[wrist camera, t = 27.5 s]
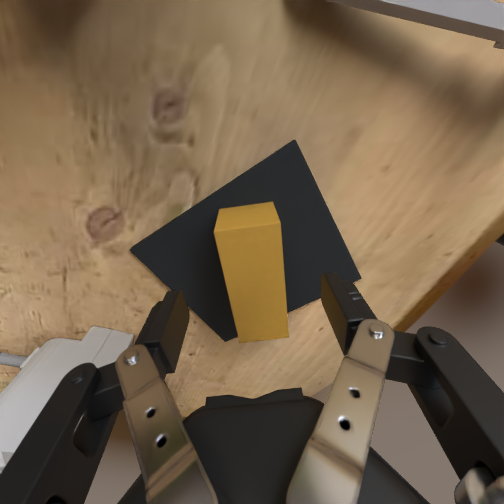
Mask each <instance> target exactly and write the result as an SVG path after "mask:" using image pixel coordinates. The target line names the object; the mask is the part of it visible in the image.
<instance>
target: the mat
mask: <svg viewBox="0 0 504 504" xmlns="http://www.w3.org/2000/svg"><path fill="white" fill-rule="evenodd" d="M267 202H273V204H274V206H275V209H276V212H277V214H278V217H279V220H280V222H281V235H282V248H283V262H284V276H285V290H286V304H287V313H289V312H291V311H293V310H295V309H297V308H299V307H301V306H304V305H306V304H308V303H310V302H312V301H314V300H316V299H318V298H321V275H322V274H323V273H331V272H336V273H337V274H338V276H339V277H340V279H341V281H342V280H348V281H349V282H351V283H353V282H355V281H357V280H359V279H361V276H360V274H359V272H358V270H357V268H356V266H355V264H354V262H353V260H352V257H351V255H350V253H349V251H348V249H347V247H346V245H345V243H344V241H343V239H342V236H341V234H340V232H339V230H338V228H337V226H336V224H335V222H334V220H333V218H332V215H331V213H330V211H329V209H328V207H327V205H326V203H325V201H324V199H323V197H322V194H321V192H320V190H319V188H318V186H317V184H316V182H315V180H314V178H313V176H312V173H311V171H310V169H309V167H308V165H307V163H306V161H305V159H304V157H303V155H302V152H301V150H300V148H299V146H298V144H297V142H296V140H293V141H291V142H290V143H288V144H287V145H285V146H284V147H282V148H281V149H279V150H278V151H276V152H275V153H273V154H272V155H270V156H269V157H267V158H266V159H264V160H263V161H261V162H260V163H258V164H257V165H255V166H253V167H252V168H250V169H249V170H247V171H246V172H244V173H243V174H241V175H240V176H238V177H237V178H235V179H234V180H232V181H231V182H229V183H228V184H226V185H225V186H223V187H222V188H220V189H219V190H217V191H216V192H214V193H213V194H211V195H210V196H208V197H207V198H205V199H204V200H202V201H201V202H199V203H198V204H196V205H195V206H193V207H192V208H190V209H189V210H187V211H186V212H184V213H183V214H181V215H180V216H178V217H177V218H175V219H174V220H172V221H171V222H169V223H168V224H166V225H165V226H163V227H161V228H160V229H158V230H157V231H155V232H154V233H152V234H151V235H149V236H148V237H146V238H145V239H143V240H142V241H140V242H139V243H137V244H136V245H134V246H133V247H132V248H131V249H130V251H131V252H132V253H133V254H134V255H135V256H136V257H137V258H138V259H139V260H140V261H141V262H142V263H144V264H145V265H146V266H147V267H148V268H149V269H150V270H151V271H152V272H153V273H154V274H155V275H156V276H157V277H158V278H159V279H160V280H161V281H162V282H163V283H164V284H165V285H166V286H168V287H169V288H170V289H171V290H172V291H176V290H181V291H182V292H183V295H184V297H185V300H186V303H187V306H188V307H189V308H191V309H192V310H193V311H194V312H195V313H196V314H197V315H198V316H199V317H200V318H201V319H202V320H203V321H204V322H205V323H206V324H207V325H208V326H209V327H210V328H211V329H212V330H213V331H215V332H216V333H217V334H218V335H219V336H220V337H221V338H222V339H223V340H224V341H225V342H226V341H229V340H231V339H233V338H235V337H237V336H238V334H237V330H236V325H235V321H234V317H233V312H232V308H231V304H230V300H229V295H228V291H227V287H226V283H225V278H224V274H223V270H222V265H221V261H220V257H219V253H218V248H217V244H216V240H215V236H214V228H215V224H216V221H217V217H218V213H219V209H223V208H231V207H238V206H245V205H252V204H260V203H267Z"/></svg>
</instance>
